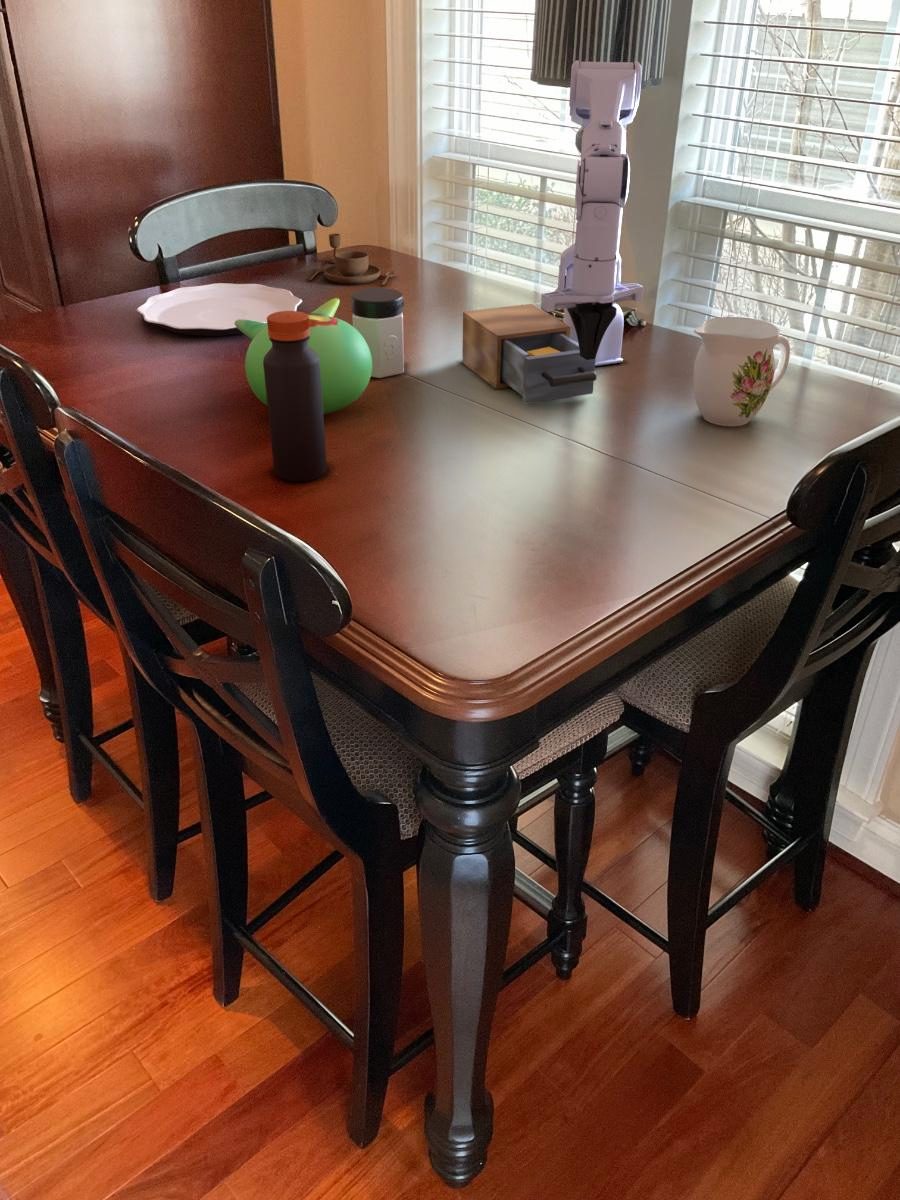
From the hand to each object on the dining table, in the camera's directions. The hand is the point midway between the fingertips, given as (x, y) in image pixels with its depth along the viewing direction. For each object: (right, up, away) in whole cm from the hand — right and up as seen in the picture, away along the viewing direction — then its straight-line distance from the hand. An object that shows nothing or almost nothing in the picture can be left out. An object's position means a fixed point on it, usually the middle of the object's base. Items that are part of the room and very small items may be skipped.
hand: (587, 357), depth 136 cm
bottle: (-38, -17, -10) cm, 43 cm away
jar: (-30, +4, +23) cm, 39 cm away
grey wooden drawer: (-4, -2, +13) cm, 14 cm away
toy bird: (-39, -6, +8) cm, 41 cm away
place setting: (-39, +36, +74) cm, 91 cm away
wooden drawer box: (-9, +4, +23) cm, 25 cm away
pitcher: (+22, -7, +7) cm, 24 cm away
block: (-5, 0, +13) cm, 14 cm away
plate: (-62, +19, +47) cm, 80 cm away
